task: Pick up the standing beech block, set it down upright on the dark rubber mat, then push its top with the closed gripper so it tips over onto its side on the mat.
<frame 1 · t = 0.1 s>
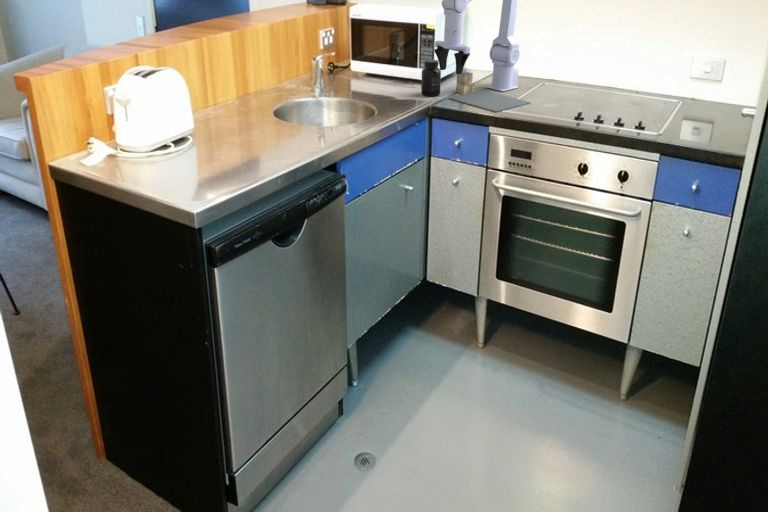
hand: (450, 71, 244), 10 cm above the countertop, tool pointing down, fingers open, 7 cm apart
beech block: (463, 92, 259), on the countertop
rubber mat: (489, 101, 248), on the countertop
supplement bottle: (430, 95, 255), on the countertop
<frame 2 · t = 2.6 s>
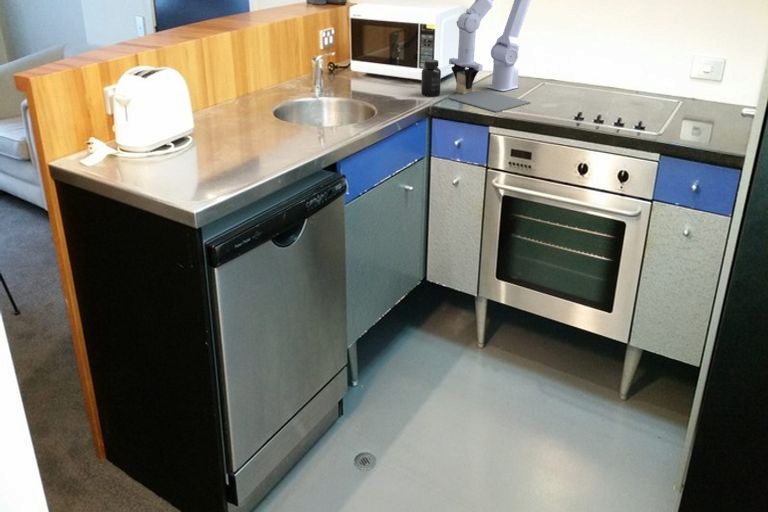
hand: (463, 87, 258), 2 cm above the countertop, tool pointing down, fingers closed on beech block, 4 cm apart
beech block: (463, 92, 259), on the countertop, touching gripper
everything else where it was.
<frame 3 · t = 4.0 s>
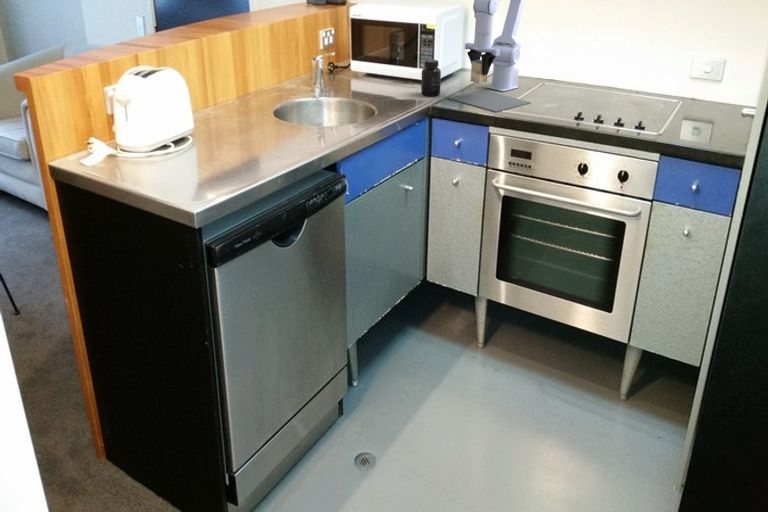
hand: (480, 73, 247), 9 cm above the countertop, tool pointing down, fingers closed on beech block, 4 cm apart
beech block: (478, 81, 248), point 6 cm above the countertop, touching gripper
everything else where it was.
when the fingers open (3 cm above the countertop, at t = 5.8 s): beech block stays where it is, resting on rubber mat.
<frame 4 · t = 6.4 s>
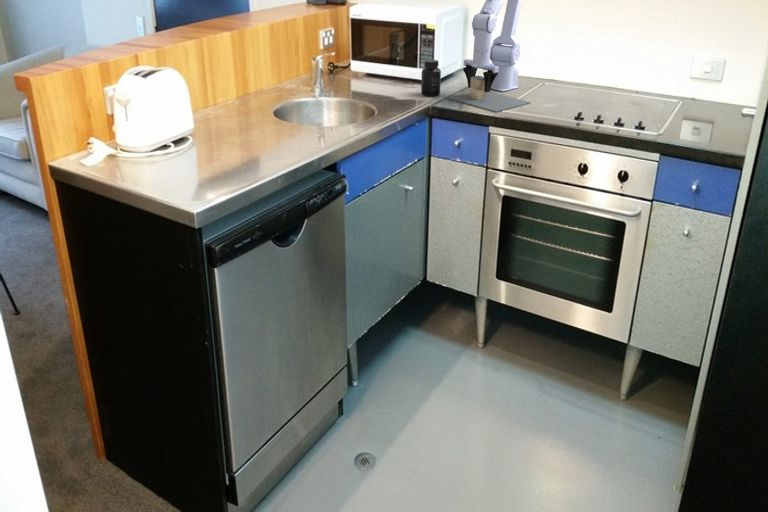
hand: (479, 89, 250), 3 cm above the countertop, tool pointing down, fingers open, 7 cm apart
beech block: (477, 97, 251), resting on rubber mat
everything else where it was.
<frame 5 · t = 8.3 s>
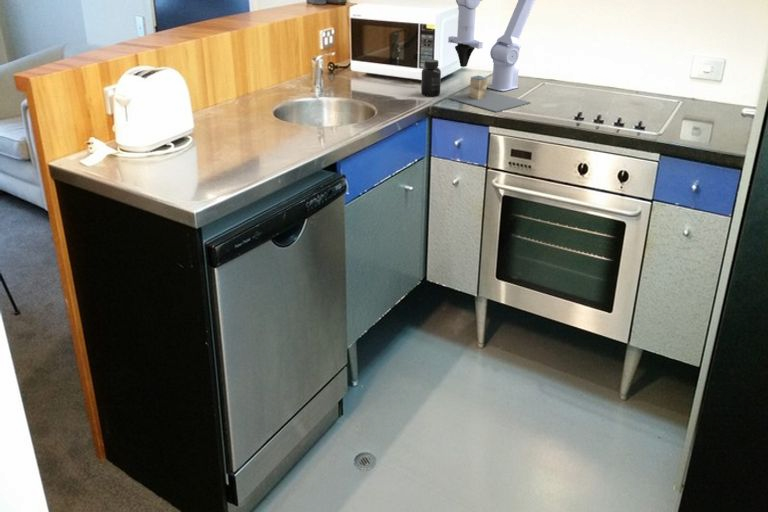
hand: (463, 66, 252), 10 cm above the countertop, tool pointing down, fingers closed
nothing on the countertop moved.
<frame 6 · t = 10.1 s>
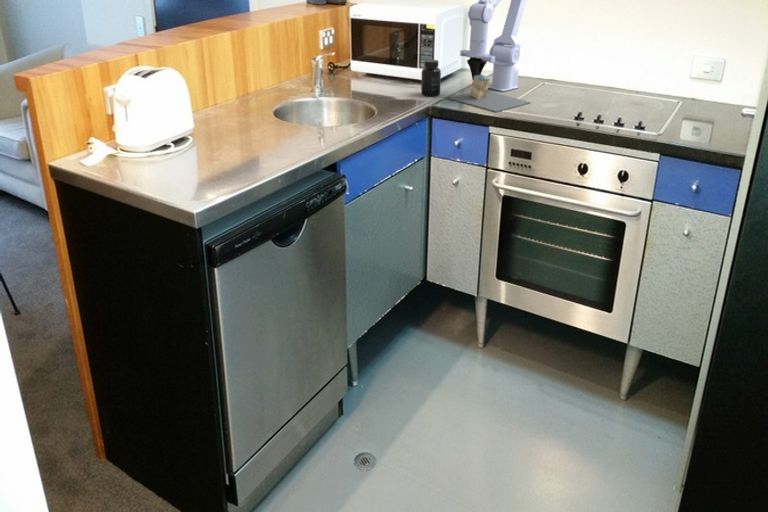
hand: (475, 80, 250), 6 cm above the countertop, tool pointing down, fingers closed
beech block: (477, 96, 251), point 1 cm above the countertop, tilted 11°, touching gripper, rubber mat
everything else where it was.
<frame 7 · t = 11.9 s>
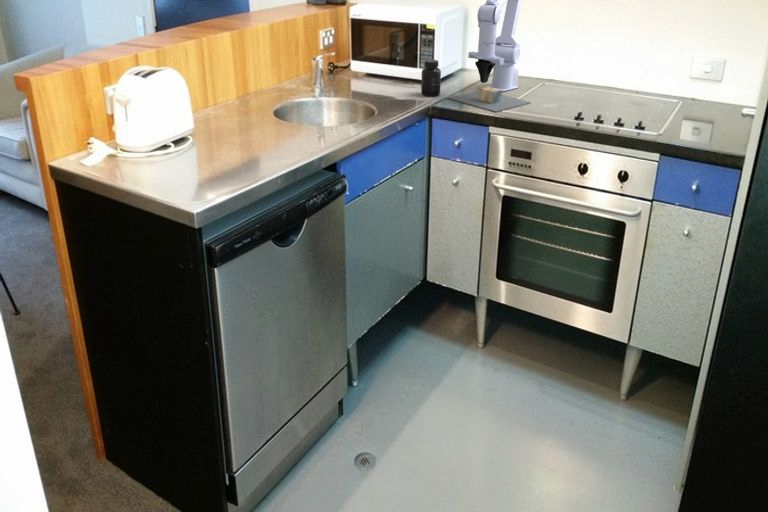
hand: (483, 82, 247), 6 cm above the countertop, tool pointing down, fingers closed
beech block: (482, 92, 249), point 2 cm above the countertop, tilted 90°, touching rubber mat
everything else where it was.
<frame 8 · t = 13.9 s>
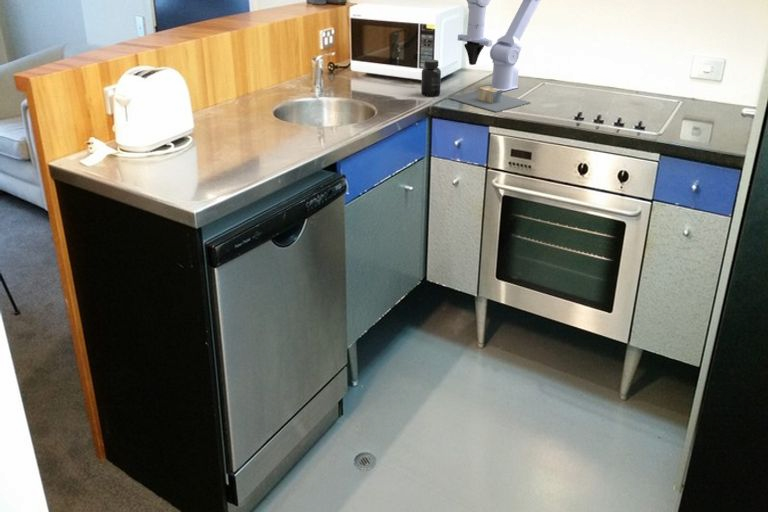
hand: (472, 64, 252), 10 cm above the countertop, tool pointing down, fingers closed
nothing on the countertop moved.
at the end: beech block tilted 90°; beech block inside the target area on the rubber mat (3.0 cm from its centre), point 2.4 cm above the rubber mat's base; the gripper is holding nothing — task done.
